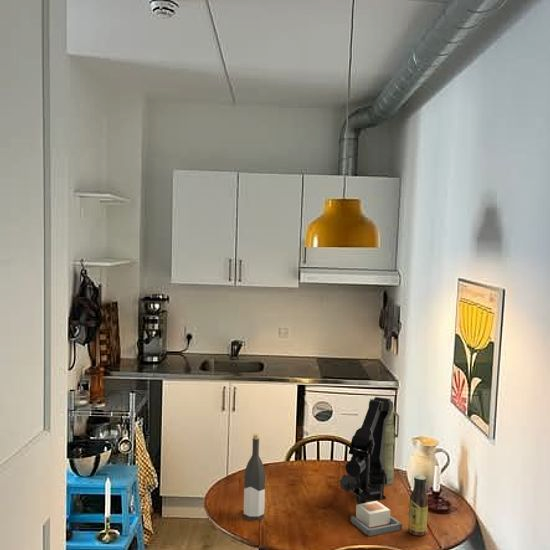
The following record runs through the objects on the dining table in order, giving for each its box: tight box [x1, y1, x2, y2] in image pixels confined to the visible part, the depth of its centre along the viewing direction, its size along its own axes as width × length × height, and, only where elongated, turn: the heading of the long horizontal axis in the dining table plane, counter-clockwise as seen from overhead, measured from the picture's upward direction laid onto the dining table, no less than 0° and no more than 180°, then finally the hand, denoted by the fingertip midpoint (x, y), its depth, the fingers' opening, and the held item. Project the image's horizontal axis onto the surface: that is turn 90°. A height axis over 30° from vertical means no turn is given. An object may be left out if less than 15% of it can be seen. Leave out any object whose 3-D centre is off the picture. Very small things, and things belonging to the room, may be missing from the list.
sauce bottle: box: [408, 474, 429, 536], centre depth 202 cm, size 7×6×20 cm
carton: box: [355, 500, 391, 528], centre depth 210 cm, size 9×8×5 cm
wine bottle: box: [243, 433, 266, 522], centre depth 211 cm, size 8×8×30 cm
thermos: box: [382, 400, 400, 487], centre depth 247 cm, size 9×12×35 cm
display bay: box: [350, 515, 403, 537], centre depth 206 cm, size 14×12×2 cm
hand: (360, 509), depth 215 cm, fingers closed
